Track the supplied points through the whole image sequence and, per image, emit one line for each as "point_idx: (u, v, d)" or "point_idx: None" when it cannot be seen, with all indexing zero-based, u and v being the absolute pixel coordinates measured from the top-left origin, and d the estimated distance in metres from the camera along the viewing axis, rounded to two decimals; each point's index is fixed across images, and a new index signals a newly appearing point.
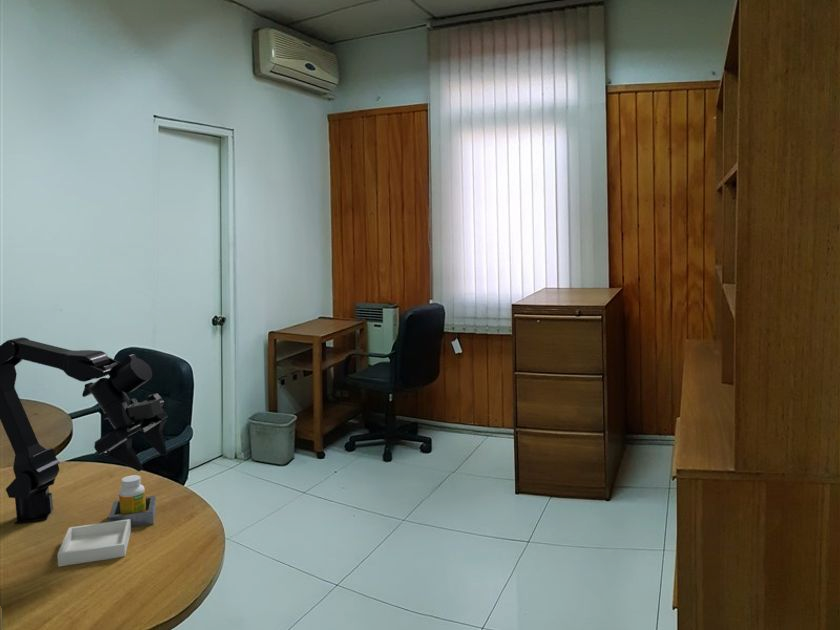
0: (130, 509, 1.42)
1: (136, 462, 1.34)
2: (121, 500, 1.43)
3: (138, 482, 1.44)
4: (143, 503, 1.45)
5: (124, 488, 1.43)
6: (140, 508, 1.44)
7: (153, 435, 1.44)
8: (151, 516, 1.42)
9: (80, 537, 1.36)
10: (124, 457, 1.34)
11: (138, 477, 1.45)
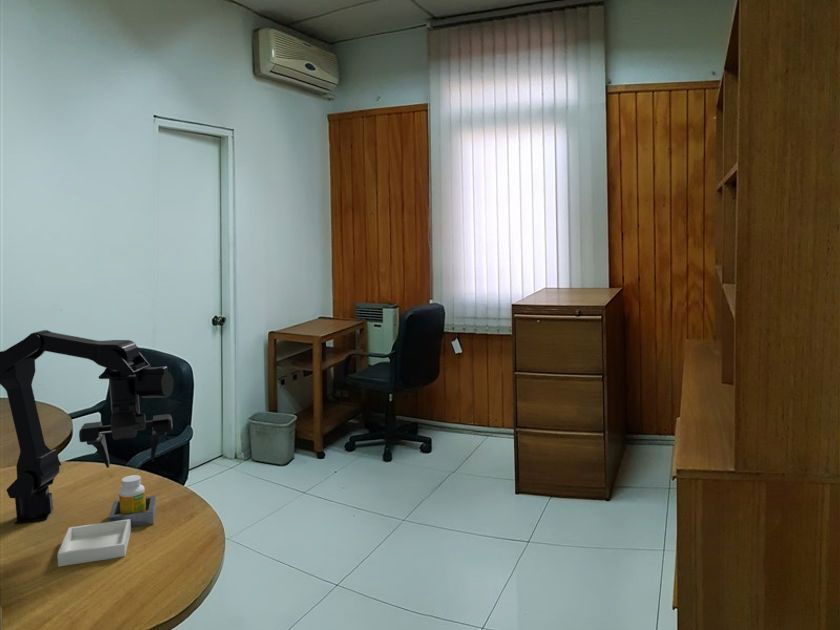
0: (130, 509, 1.42)
1: (103, 460, 1.41)
2: (121, 500, 1.43)
3: (138, 482, 1.44)
4: (143, 503, 1.45)
5: (124, 488, 1.43)
6: (140, 508, 1.44)
7: None
8: (151, 516, 1.42)
9: (80, 537, 1.36)
10: None
11: (138, 477, 1.45)
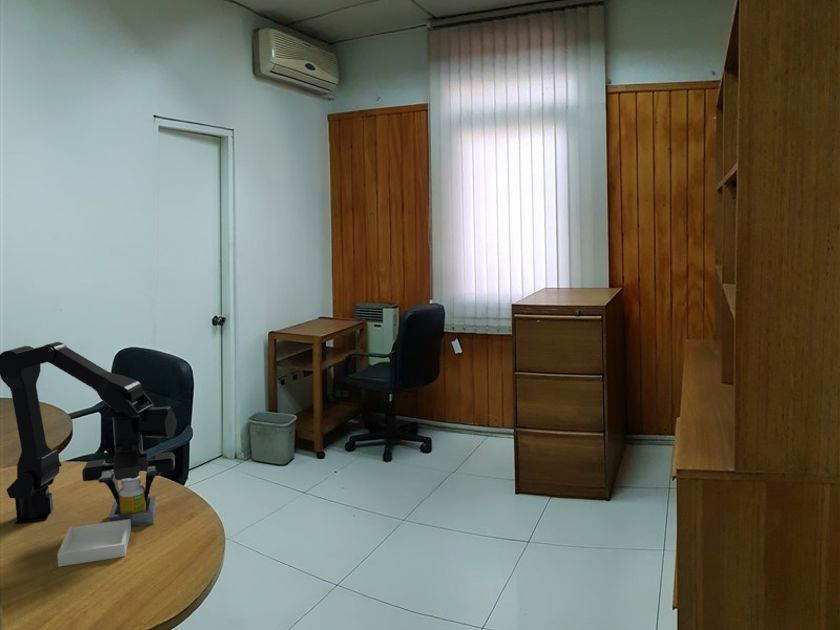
0: (130, 509, 1.42)
1: (114, 497, 1.43)
2: (121, 500, 1.43)
3: (138, 482, 1.44)
4: (143, 503, 1.45)
5: (124, 488, 1.43)
6: (140, 508, 1.44)
7: None
8: (151, 516, 1.42)
9: (80, 537, 1.36)
10: None
11: (138, 477, 1.45)
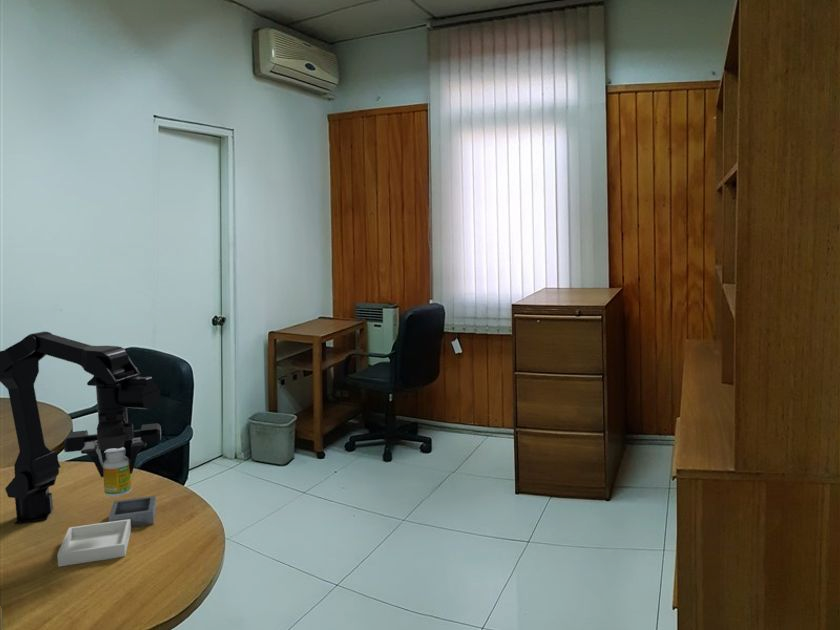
0: (114, 482, 1.36)
1: (97, 469, 1.37)
2: (105, 472, 1.36)
3: (123, 454, 1.38)
4: (128, 476, 1.39)
5: (108, 460, 1.37)
6: (125, 480, 1.38)
7: None
8: (151, 516, 1.42)
9: (80, 537, 1.36)
10: None
11: (123, 449, 1.39)
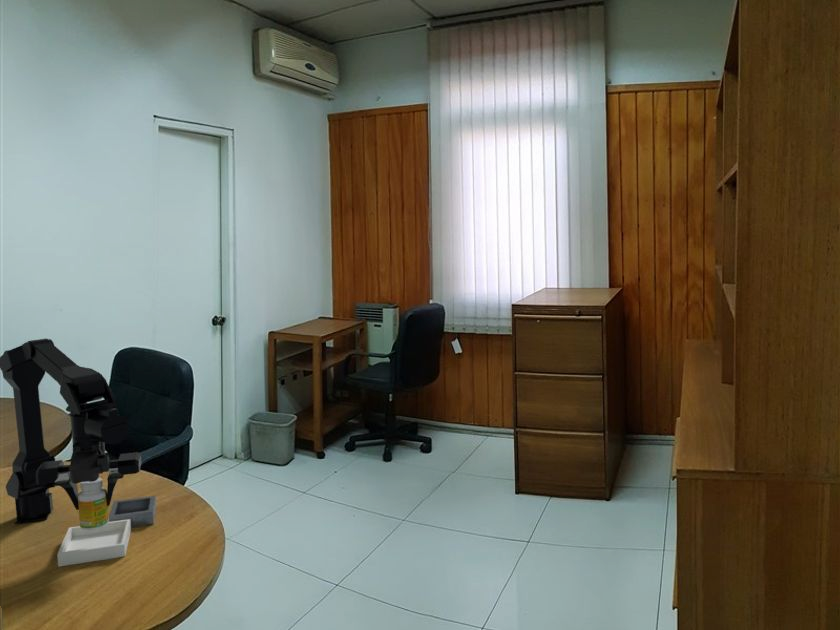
0: (90, 515, 1.29)
1: (72, 502, 1.29)
2: (80, 505, 1.29)
3: (99, 485, 1.30)
4: (105, 508, 1.31)
5: (83, 492, 1.29)
6: (101, 513, 1.30)
7: None
8: (151, 516, 1.42)
9: (80, 537, 1.36)
10: None
11: (99, 480, 1.31)
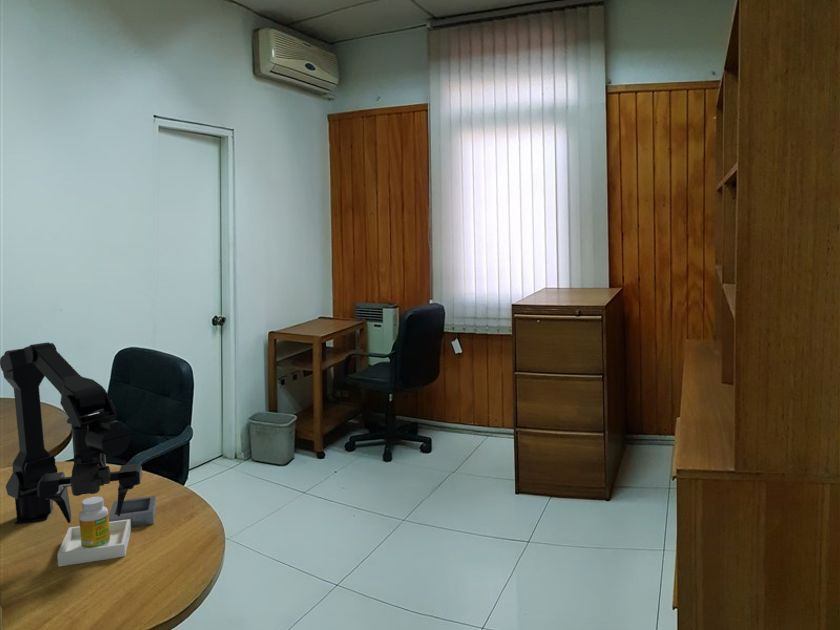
0: (91, 535, 1.29)
1: (64, 515, 1.29)
2: (81, 524, 1.29)
3: (100, 505, 1.31)
4: (106, 528, 1.31)
5: (85, 511, 1.30)
6: (102, 533, 1.30)
7: None
8: (151, 516, 1.42)
9: (80, 537, 1.36)
10: None
11: (100, 499, 1.31)
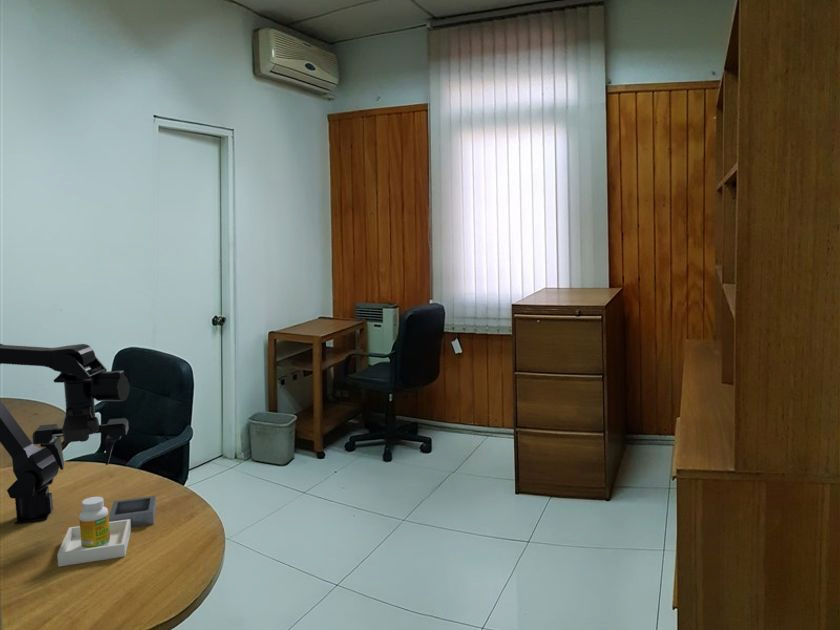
0: (91, 535, 1.29)
1: (57, 462, 1.43)
2: (81, 524, 1.29)
3: (100, 505, 1.31)
4: (106, 528, 1.31)
5: (85, 511, 1.30)
6: (102, 533, 1.30)
7: None
8: (151, 516, 1.42)
9: (80, 537, 1.36)
10: None
11: (101, 499, 1.31)
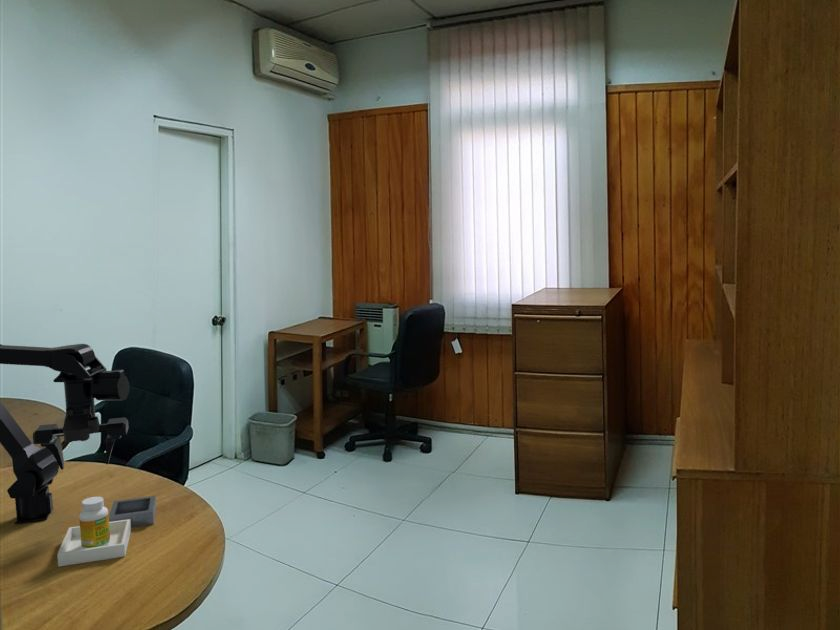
0: (91, 535, 1.29)
1: None
2: (81, 524, 1.29)
3: (100, 505, 1.31)
4: (106, 528, 1.31)
5: (85, 511, 1.30)
6: (102, 533, 1.30)
7: None
8: (151, 516, 1.42)
9: (80, 537, 1.36)
10: None
11: (101, 499, 1.31)
